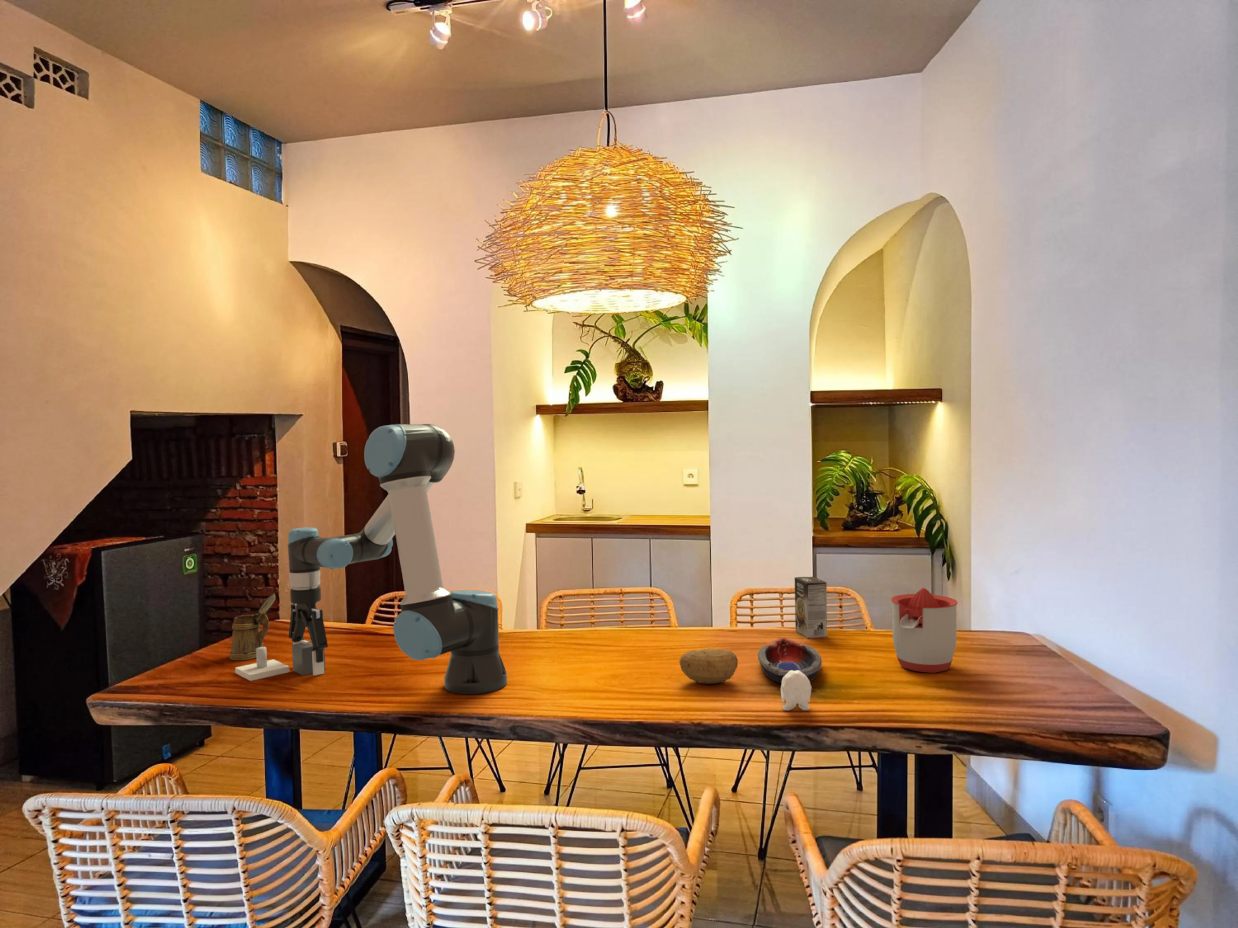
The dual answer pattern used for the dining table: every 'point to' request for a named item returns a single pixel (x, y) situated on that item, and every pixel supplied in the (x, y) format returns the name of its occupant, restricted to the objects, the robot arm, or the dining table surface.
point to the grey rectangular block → (303, 657)
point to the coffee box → (811, 607)
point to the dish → (788, 659)
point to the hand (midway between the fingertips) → (309, 669)
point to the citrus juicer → (924, 631)
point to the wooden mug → (250, 632)
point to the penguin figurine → (795, 690)
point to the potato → (709, 665)
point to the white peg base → (261, 667)
